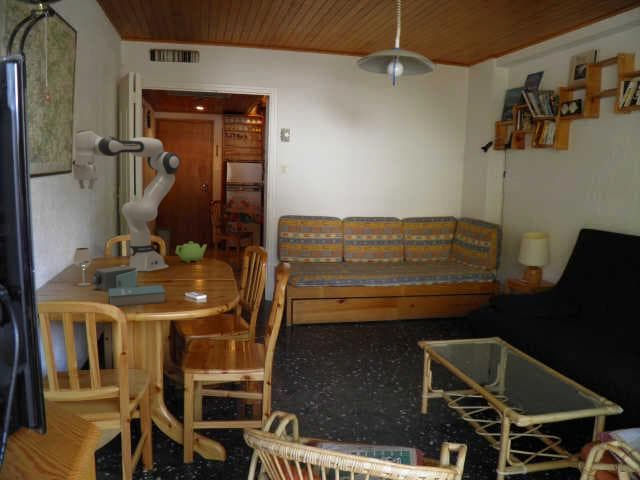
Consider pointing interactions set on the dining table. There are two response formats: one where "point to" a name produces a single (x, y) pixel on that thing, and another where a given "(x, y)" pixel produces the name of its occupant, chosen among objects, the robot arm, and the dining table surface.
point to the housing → (109, 276)
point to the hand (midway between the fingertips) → (86, 188)
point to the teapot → (191, 252)
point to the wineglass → (82, 261)
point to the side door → (127, 280)
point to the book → (136, 295)
